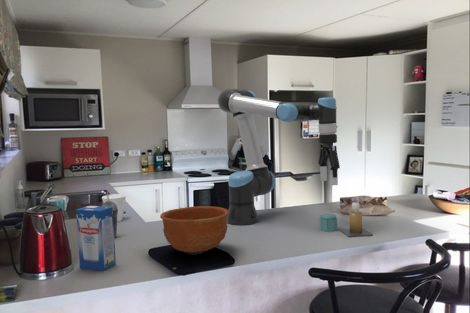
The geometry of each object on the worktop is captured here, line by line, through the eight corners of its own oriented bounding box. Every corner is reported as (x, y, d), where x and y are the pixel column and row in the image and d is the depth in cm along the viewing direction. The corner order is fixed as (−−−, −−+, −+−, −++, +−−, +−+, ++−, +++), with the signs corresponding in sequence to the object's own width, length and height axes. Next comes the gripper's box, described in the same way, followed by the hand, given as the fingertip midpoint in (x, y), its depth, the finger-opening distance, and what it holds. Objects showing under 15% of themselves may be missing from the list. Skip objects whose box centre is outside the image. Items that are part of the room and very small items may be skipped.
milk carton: (79, 268, 135) (75, 209, 133) (92, 262, 140) (88, 205, 139) (104, 271, 131) (100, 210, 129) (116, 264, 137) (112, 206, 135)
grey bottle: (103, 240, 166) (100, 193, 165) (100, 236, 173) (97, 190, 171) (121, 238, 170) (118, 191, 168) (117, 234, 176) (115, 189, 175)
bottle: (348, 237, 159) (347, 205, 158) (339, 230, 169) (339, 201, 168) (372, 235, 160) (372, 204, 159) (362, 229, 170) (362, 200, 169)
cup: (130, 220, 201) (129, 196, 200) (107, 224, 194) (105, 199, 194) (123, 216, 211) (121, 193, 210) (100, 220, 204) (98, 196, 203)
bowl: (172, 269, 131) (169, 223, 130) (155, 248, 154) (153, 209, 152) (241, 256, 141) (239, 214, 139) (215, 239, 163) (214, 202, 162)
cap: (323, 231, 168) (322, 217, 168) (318, 227, 175) (318, 214, 175) (338, 230, 169) (338, 216, 168) (333, 226, 176) (333, 213, 175)
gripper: (347, 134, 160) (348, 186, 162) (326, 133, 185) (327, 178, 187) (329, 134, 159) (330, 187, 161) (310, 133, 184) (311, 179, 186)
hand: (328, 183), depth 174 cm, fingers open, 13 cm apart
